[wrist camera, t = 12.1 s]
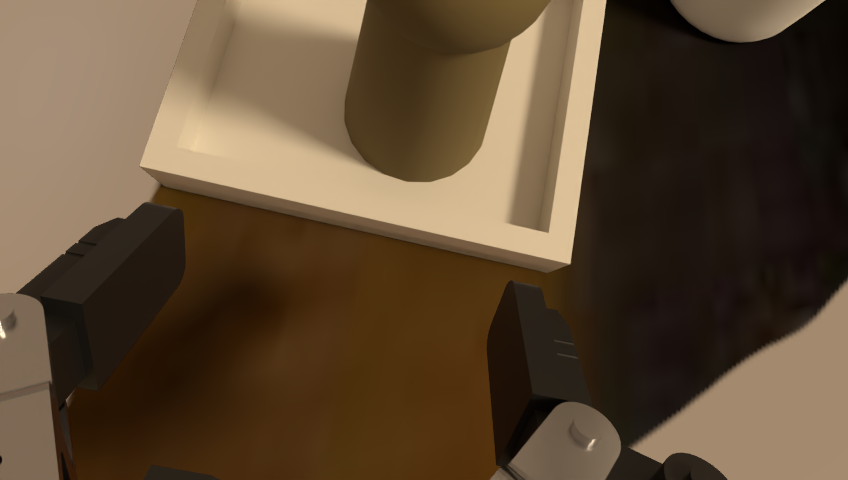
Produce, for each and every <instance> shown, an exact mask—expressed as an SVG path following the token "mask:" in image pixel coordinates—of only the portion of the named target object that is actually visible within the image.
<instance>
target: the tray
mask: <svg viewBox="0 0 848 480" xmlns="http://www.w3.org/2000/svg"><path fill="white" fill-rule="evenodd" d="M366 2H367V0H197V3H196V6H195V9H194V11H193V14H192V17H191V20H190V23H189V26H188V28H187V32H186V34H185V37H184V40H183V43H182V46H181V48H180V51H179V54H178V57H177V60H176V63H175V66H174V68H173V71H172V74H171V77H170V80H169V83H168V85H167V88H166V91H165V94H164V97H163V100H162V102H161V105H160V108H159V111H158V114H157V117H156V119H155V122H154V125H153V128H152V131H151V134H150V136H149V139H148V142H147V145H146V148H145V151H144V154H143V156H142V159H141V162H140V165H139V166H140V167H141V168H142V169H143V170H145V171H146V172H147V173H149V174H150V175H151V176H152V177H154V178H155V179H156V180H157V181H158V182H160V183H161V184H162V185H163V186H165V187H168V188H173V189H177V190H182V191H186V192H190V193H195V194H199V195H204V196H208V197H213V198H217V199H222V200H226V201H230V202H235V203H239V204H244V205H248V206H253V207H257V208H262V209H266V210H270V211H275V212H279V213H284V214H288V215H293V216H297V217H301V218H306V219H310V220H315V221H319V222H324V223H328V224H333V225H337V226H341V227H346V228H350V229H355V230H359V231H364V232H368V233H373V234H377V235H381V236H386V237H390V238H395V239H399V240H404V241H408V242H412V243H417V244H421V245H426V246H430V247H435V248H439V249H444V250H448V251H452V252H457V253H461V254H466V255H470V256H475V257H479V258H483V259H488V260H492V261H497V262H501V263H506V264H510V265H515V266H519V267H523V268H528V269H532V270H537V271H541V272H546V273H548V272H550V271H553V270H556V269H558V268H561V267H564V266H566V265H569V264H570V262H571V254H572V247H573V240H574V232H575V225H576V218H577V210H578V203H579V196H580V189H581V181H582V174H583V167H584V159H585V152H586V145H587V137H588V130H589V123H590V116H591V108H592V101H593V94H594V86H595V79H596V72H597V64H598V57H599V50H600V43H601V35H602V28H603V21H604V13H605V6H606V0H551V1H550V3H549V4H548V5H547V7H546V8H545V9H544V11H543V12H542V13H541V15H540V16H539V17H538V19H537V20H536V21H535V22H534V23H533V24H532V25H531V26H530V27H529V28H527V29H526V30H525V31H524V32H523V33H521V34H520V35H518V36H517V37H515V38H513V39H512V40H511V43H510V47H509V50H508V54H507V57H506V61H505V65H504V68H503V72H502V75H501V79H500V83H499V86H498V90H497V93H496V97H495V101H494V104H493V108H492V111H491V115H490V119H489V122H488V126H487V129H486V133H485V136H484V139H483V143H482V146H481V148H480V149H479V151H478V152H477V153H476V155H475V156H474V157H473V159H472V160H471V162H470V163H469V164H468V165H466V166H465V167H463V168H462V169H460V170H459V171H458V172H456V173H455V174H453V175H452V176H449V177H446V178H442V179H439V180H436V181H432V182H406V181H403V180H400V179H397V178H394V177H391V176H388V175H385V174H383V173H382V172H380V171H379V170H377V169H376V168H375V167H373V166H372V165H370V164H369V163H368V162H366V161H365V160H364V159H363V157H362V156H361V155H360V153H359V152H358V151H357V149H356V148H355V147H354V145H353V144H352V143H351V140H350V137H349V134H348V131H347V128H346V125H345V122H344V113H345V96H346V92H347V87H348V83H349V78H350V74H351V69H352V65H353V60H354V56H355V52H356V47H357V43H358V38H359V34H360V29H361V25H362V20H363V16H364V11H365V7H366Z"/></svg>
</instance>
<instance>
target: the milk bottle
mask: <svg viewBox="0 0 848 480" xmlns="http://www.w3.org/2000/svg"><path fill="white" fill-rule="evenodd" d="M823 1H825V0H670V2H671V3H672V4H673V6H674V7H675V8H676V10H677V11H678V13H680V14H681V15H682V16H683V17H684V18H685V19H686V20H687V21H688V22H689V23H690V24H692V25H693V26H694V27H696V28H697V29H699V30H700V31H702V32H704V33H706V34H708V35H710V36H712V37H714V38H717V39H721V40H724V41H728V42H738V43H744V42H754V41H758V40H762V39H766V38H769V37H772V36H774V35H776V34H778V33H780V32H781V31H782V30H784V29H785V28H787V27H788V26H790V25H791V24H793V23H794V22H796V21H797V20H798V19H800V18H801V17H803V16H804V15H805V14H807V13H808V12H810V11H811V10H812V9H814V8H815V7H816V6H818V5H819V4H820V3H822V2H823Z"/></svg>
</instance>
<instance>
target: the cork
mask: <svg viewBox="0 0 848 480" xmlns="http://www.w3.org/2000/svg"><path fill="white" fill-rule="evenodd" d="M550 1H551V0H367V2H366V7H365V11H364V16H363V20H362V25H361V29H360V34H359V38H358V43H357V47H356V52H355V56H354V60H353V65H352V69H351V74H350V78H349V83H348V87H347V92H346V96H345V113H344V122H345V125H346V128H347V131H348V134H349V137H350V140H351V143H352V144H353V145H354V147H355V148H356V149H357V151H358V152H359V153H360V155H361V156H362V157H363V159H364V160H365V161H366V162H368V163H369V164H370V165H372V166H373V167H375V168H376V169H377V170H379V171H380V172H382V173H383V174H385V175H388V176H391V177H394V178H397V179H400V180H403V181H406V182H432V181H436V180H439V179H442V178H446V177H449V176H452V175H453V174H455V173H456V172H458V171H459V170H460V169H462V168H463V167H465V166H466V165H468V164H469V163H470V162H471V160H472V159H473V157H474V156H475V155H476V153H477V152H478V151H479V149H480V148H481V146H482V143H483V139H484V136H485V133H486V129H487V126H488V122H489V119H490V115H491V111H492V108H493V104H494V101H495V97H496V93H497V90H498V86H499V83H500V79H501V75H502V72H503V68H504V65H505V61H506V57H507V54H508V50H509V47H510V43H511V40H512V39H513V38H515V37H517V36H518V35H520V34H521V33H523V32H524V31H525V30H526V29H527V28H529V27H530V26H531V25H532V24H533V23H534V22H535V21H536V20H537V19H538V17H539V16H540V15H541V13H542V12H543V11H544V9H545V8H546V7H547V5H548V4H549V3H550Z"/></svg>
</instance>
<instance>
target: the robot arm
mask: <svg viewBox="0 0 848 480" xmlns="http://www.w3.org/2000/svg"><path fill="white" fill-rule="evenodd" d="M184 270H185V237H184V216H183V213H182V211H181V210H180V209H177V208H173V207H168V206H163V205H159V204H154V203H149V202H145V203H143V204H142V205H141V206H140V207H138V208H137V209H136V210H135V211H134V212H133V213H132V214H131V215H130V216H128V217H127V218H126V219H122V218H116V219H113V220H110V221H108V222H106V223H103V224H101V225H98V226H96V227H94V228H93V229H92V230H91V231H89V232H88V233H87V234H86V235H85V236H83V237H82V238H81V239H80V240H79V242H78V243H75V244H74V245H73V246H72V247H70V248H69V249H68V250H67V251H66V253H65V255H64V254H62V255H61V256H60V257H58V258H57V259H56V260H55V261H54V262H53V263H51V264H50V265H49V266H48V267H47V268H45V269H44V270H43V271H42V272H41V273H39V275H37V276H36V277H35V278H34V279H32V280H31V281H30V282H29V283H27V284H26V285H25V286H24V287H23V288H22V289H20V290H19V291H18V292H17V293H16V294H13V293H8V294H0V480H77V473H76V466H75V458H74V451H73V444H72V437H71V429H70V422H69V415H68V408H67V403H66V399H67V398H68V396H69V395H70V394H71V393H72V391H73V390H74V389H75V388H76V387H78V388H83V389H89V390H94V391H99V390H100V388H101V387H102V386H103V385H104V383H105V382H106V381H107V379H108V378H109V377H110V375H111V374H112V373H113V371H114V370H115V369H116V367H117V366H118V365H119V363H120V362H121V361H122V360H123V358H124V357H125V356H126V354H127V353H128V352H129V350H130V349H131V348H132V346H133V345H134V344H135V342H136V341H137V340H138V339H139V337H140V336H141V335H142V333H143V332H144V331H145V329H146V328H147V327H148V325H149V324H150V323H151V321H152V320H153V319H154V317H155V316H156V315H157V314H158V312H159V311H160V310H161V308H162V307H163V306H164V304H165V303H166V302H167V300H168V299H169V298H170V296H171V295H172V294H173V293H174V291H175V290H176V289H177V287H178V286H179V284H180V282H181V280H182V277H183V274H184ZM573 344H574V341H573V338H572V334H571V331H570V328H569V326H568V324H567V323H566V322H565V320H564V319H563V318H562V316H561V315H560V314H559V312H558V311H557V310H552V309H548V308H546V305H545V301H544V297H543V293H542V289H541V287H540V286H536V285H531V284H526V283H521V282H517V281H512V280H511V281H509V282H508V284H507V286H506V288H505V290H504V293H503V296H502V298H501V301H500V303H499V306H498V308H497V311H496V313H495V316H494V318H493V321H492V323H491V326H490V329H489V333H488V339H487V358H488V370H489V382H490V394H491V406H492V419H493V431H494V443H495V455H496V465H497V466H501V467H500V468H499V470H498V471H497V472H496V473H495V474H494V475H493V477H492V478H491V479H490V480H727V478H726V477H725V476H724V475H723V474H722V473H721V472H720V471H719V470H717V469H716V468H715V467H714V466H712V465H711V464H710V463H708V462H707V461H705V460H703V459H701V458H699V457H697V456H694V455H691V454H687V453H675V454H672V455H670V456H669V457H668V458H667V459H666V460H665V462H664V463H663V464H661V463H659V462H657V461H655V460H653V459H651V458H649V457H647V456H644V455H642V454H640V453H638V452H636V451H634V450H632V449H630V448H628V447H626V446H625V445H623V444H622V443H620V439H619V436H618V434H617V431H616V430H615V428H614V427H613V425H612V424H611V423H610V422H609V420H608V419H607V418H606V417H605V416H603V415H602V414H601V413H600V412H598V411H597V410H595V409H593V406H592V403H591V399H590V396H589V392H588V389H587V386H586V382H585V379H584V375H583V372H582V368H581V365H580V362H579V360H578V359H577V357H578V355H577V351H576V348H575V346H573ZM143 480H219V479H217V478H215V477H213V476H211V475H206V474H200V473H195V472H189V471H183V470H177V469H171V468H166V467H160V466H154V465H151V467H150V469H149V470H148V472H147V474H146V476H145V478H144V479H143Z"/></svg>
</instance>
